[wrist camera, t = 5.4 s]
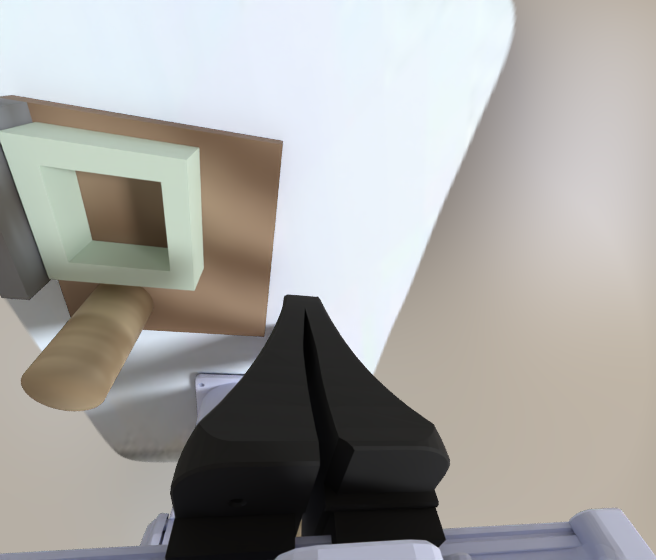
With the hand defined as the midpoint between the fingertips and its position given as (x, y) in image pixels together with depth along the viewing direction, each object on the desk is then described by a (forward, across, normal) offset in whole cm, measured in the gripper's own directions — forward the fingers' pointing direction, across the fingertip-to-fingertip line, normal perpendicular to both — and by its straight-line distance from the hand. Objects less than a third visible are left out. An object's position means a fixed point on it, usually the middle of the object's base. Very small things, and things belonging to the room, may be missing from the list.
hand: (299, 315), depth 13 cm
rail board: (+10, +8, +2) cm, 13 cm away
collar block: (+8, +9, 0) cm, 12 cm away
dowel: (+8, +11, +7) cm, 15 cm away
